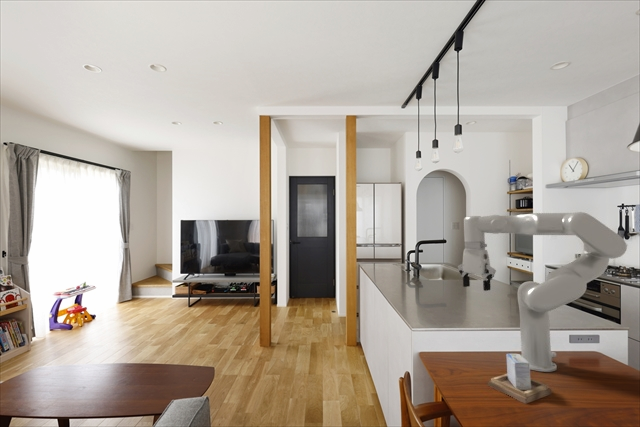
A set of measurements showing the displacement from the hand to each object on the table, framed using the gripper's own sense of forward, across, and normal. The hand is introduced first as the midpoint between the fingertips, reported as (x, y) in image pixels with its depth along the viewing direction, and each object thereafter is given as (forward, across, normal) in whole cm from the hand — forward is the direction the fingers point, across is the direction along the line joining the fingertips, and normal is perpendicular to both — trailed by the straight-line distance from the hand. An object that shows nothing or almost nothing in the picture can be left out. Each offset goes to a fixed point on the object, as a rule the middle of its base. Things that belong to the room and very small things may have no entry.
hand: (476, 288), depth 133 cm
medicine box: (+27, -23, +10) cm, 37 cm away
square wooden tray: (+28, -23, +10) cm, 38 cm away
